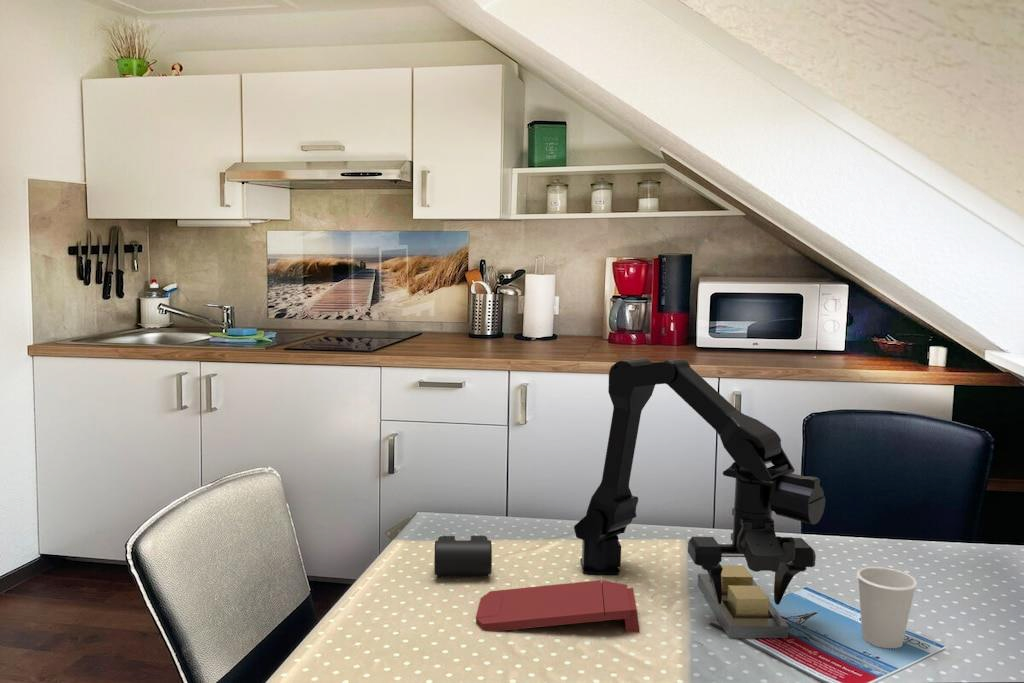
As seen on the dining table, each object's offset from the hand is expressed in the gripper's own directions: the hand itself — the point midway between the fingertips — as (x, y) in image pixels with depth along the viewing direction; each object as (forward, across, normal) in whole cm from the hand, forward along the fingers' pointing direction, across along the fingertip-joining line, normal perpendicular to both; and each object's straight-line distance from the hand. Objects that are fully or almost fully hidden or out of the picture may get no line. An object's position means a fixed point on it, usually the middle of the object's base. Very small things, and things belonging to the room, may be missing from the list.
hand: (747, 603), depth 131 cm
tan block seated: (+3, 0, +8) cm, 9 cm away
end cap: (+3, -46, +17) cm, 49 cm away
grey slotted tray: (+3, 0, +4) cm, 5 cm away
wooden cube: (+3, 0, 0) cm, 3 cm away
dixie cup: (+3, +19, -6) cm, 20 cm away
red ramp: (+4, -30, +1) cm, 30 cm away
